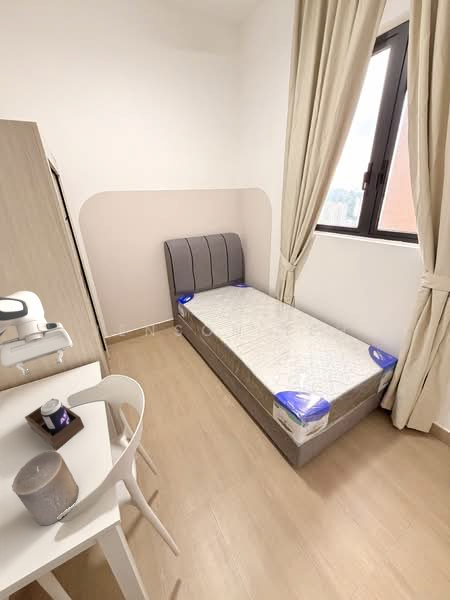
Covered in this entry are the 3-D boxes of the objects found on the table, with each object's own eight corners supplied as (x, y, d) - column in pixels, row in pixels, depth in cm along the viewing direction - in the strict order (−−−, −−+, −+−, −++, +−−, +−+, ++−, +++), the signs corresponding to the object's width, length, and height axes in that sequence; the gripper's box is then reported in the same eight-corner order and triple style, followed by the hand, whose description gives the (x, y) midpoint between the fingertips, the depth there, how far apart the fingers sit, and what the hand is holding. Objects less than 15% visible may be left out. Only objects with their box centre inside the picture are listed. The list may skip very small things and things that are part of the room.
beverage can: (68, 436, 78) (56, 410, 73) (49, 440, 77) (35, 414, 72) (75, 421, 83) (63, 396, 78) (57, 425, 82) (44, 400, 77)
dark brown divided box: (30, 427, 83) (24, 417, 81) (57, 408, 90) (53, 398, 88) (56, 450, 74) (51, 439, 72) (84, 427, 82) (80, 416, 79)
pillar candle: (69, 474, 68) (50, 439, 61) (86, 496, 62) (67, 461, 56) (29, 509, 60) (3, 473, 54) (44, 537, 55) (17, 501, 49)
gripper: (-8, 341, 77) (0, 381, 74) (64, 321, 87) (75, 355, 84) (0, 346, 83) (9, 383, 79) (68, 326, 93) (78, 359, 89)
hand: (43, 369), depth 82 cm, fingers open, 8 cm apart
